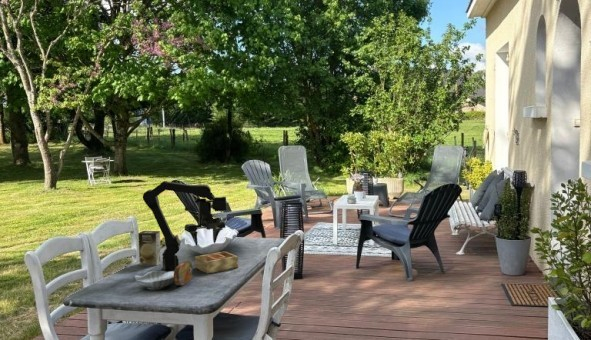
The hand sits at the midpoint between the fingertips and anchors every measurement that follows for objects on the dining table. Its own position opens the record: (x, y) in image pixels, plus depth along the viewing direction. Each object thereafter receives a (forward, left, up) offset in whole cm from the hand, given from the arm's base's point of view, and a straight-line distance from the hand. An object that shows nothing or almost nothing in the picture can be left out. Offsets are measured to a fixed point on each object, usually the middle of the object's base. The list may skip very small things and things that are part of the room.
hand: (205, 244), depth 263 cm
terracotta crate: (+3, -5, -11) cm, 12 cm away
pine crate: (+3, -5, -11) cm, 12 cm away
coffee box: (-19, +24, -11) cm, 32 cm away
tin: (-19, -17, -11) cm, 28 cm away
